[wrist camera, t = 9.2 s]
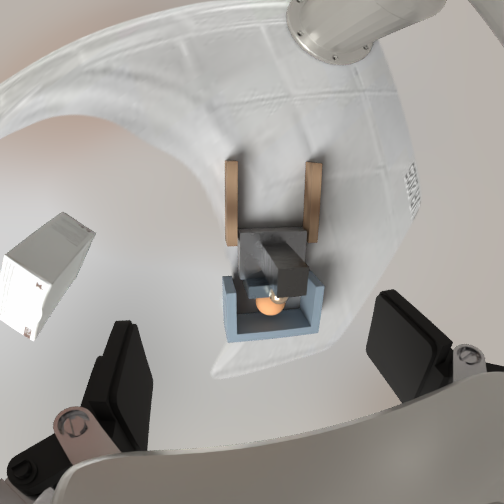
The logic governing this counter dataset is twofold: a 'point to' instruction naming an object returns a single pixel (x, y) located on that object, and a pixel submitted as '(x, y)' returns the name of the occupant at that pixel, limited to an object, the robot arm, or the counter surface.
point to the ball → (268, 306)
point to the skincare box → (41, 273)
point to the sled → (273, 262)
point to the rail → (310, 201)
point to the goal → (273, 325)
